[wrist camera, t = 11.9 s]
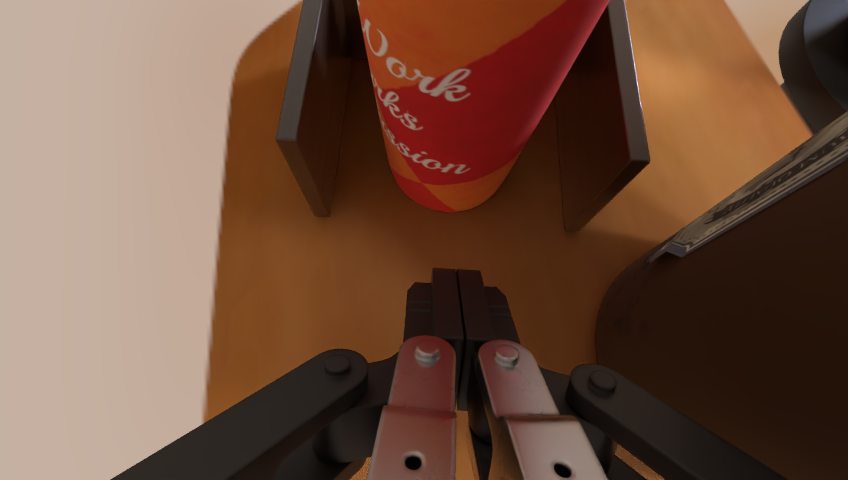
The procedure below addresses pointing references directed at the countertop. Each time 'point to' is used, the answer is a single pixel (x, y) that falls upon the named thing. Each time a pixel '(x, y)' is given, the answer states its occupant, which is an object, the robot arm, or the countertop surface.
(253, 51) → the countertop surface
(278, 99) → the countertop surface
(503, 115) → the paper cup
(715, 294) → the brown bottle
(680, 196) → the countertop surface
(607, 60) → the holder
